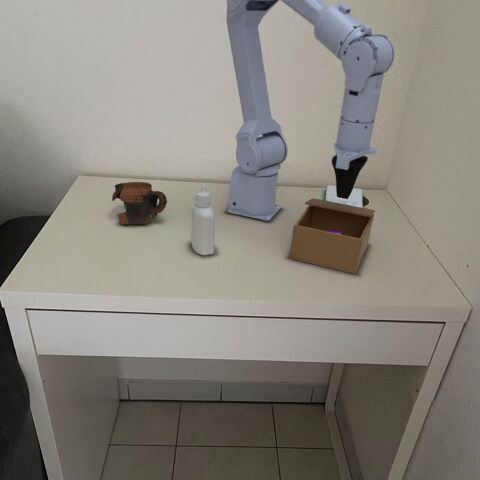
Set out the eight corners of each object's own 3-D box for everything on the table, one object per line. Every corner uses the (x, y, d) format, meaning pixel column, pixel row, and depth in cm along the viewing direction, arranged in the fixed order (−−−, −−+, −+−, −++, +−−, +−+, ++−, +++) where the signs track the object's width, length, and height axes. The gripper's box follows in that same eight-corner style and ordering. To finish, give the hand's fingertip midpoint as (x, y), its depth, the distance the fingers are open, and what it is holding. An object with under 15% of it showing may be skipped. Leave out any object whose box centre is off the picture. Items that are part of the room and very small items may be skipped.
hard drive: (360, 195, 117) (361, 216, 107) (326, 191, 118) (323, 211, 108) (362, 189, 116) (363, 209, 106) (327, 184, 117) (324, 204, 107)
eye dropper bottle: (215, 242, 93) (217, 180, 86) (213, 256, 88) (215, 192, 81) (192, 241, 93) (192, 179, 86) (189, 255, 88) (188, 190, 81)
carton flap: (312, 200, 94) (312, 197, 94) (374, 212, 91) (374, 210, 91) (304, 204, 89) (305, 202, 89) (370, 217, 86) (371, 215, 86)
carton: (307, 232, 98) (311, 201, 95) (367, 245, 95) (374, 214, 91) (289, 258, 89) (293, 225, 85) (355, 273, 86) (362, 240, 82)
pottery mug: (104, 226, 97) (100, 183, 96) (129, 229, 106) (126, 190, 105) (159, 220, 93) (155, 176, 92) (180, 224, 102) (177, 183, 101)
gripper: (374, 132, 75) (357, 215, 83) (387, 113, 86) (371, 188, 94) (329, 125, 77) (316, 207, 85) (348, 107, 88) (335, 181, 96)
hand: (343, 197), depth 90 cm, fingers closed
